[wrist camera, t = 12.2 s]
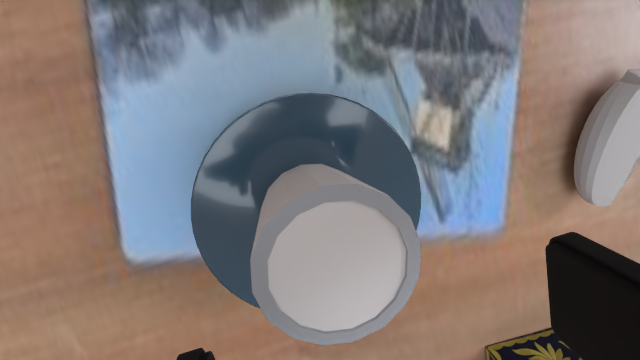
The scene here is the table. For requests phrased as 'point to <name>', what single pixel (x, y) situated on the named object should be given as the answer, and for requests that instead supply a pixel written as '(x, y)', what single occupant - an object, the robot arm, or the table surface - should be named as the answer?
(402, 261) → the shot glass
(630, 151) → the game controller
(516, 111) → the table surface
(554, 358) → the decorative box
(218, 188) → the stand
